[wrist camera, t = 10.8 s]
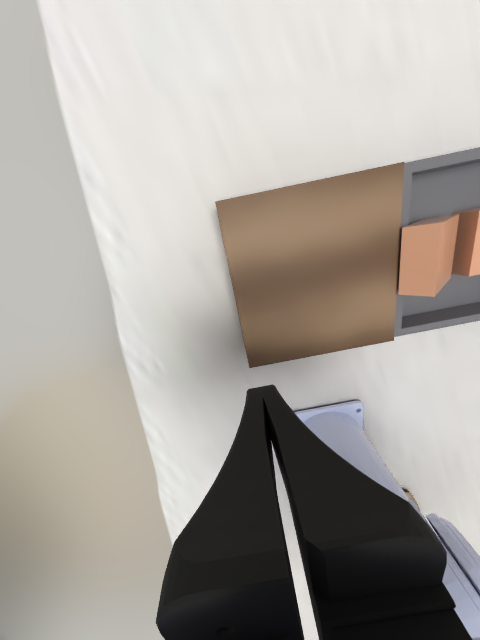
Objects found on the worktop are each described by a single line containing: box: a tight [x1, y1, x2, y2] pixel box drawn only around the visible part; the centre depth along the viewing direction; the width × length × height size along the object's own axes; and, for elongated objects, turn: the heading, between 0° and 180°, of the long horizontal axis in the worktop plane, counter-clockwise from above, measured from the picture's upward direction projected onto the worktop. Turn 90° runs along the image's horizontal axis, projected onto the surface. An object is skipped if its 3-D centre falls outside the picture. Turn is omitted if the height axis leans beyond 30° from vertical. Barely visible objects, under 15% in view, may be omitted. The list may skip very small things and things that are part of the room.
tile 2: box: [398, 214, 459, 297], centre depth 16 cm, size 4×4×2 cm
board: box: [215, 162, 404, 368], centre depth 17 cm, size 12×12×3 cm
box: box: [394, 147, 480, 337], centre depth 17 cm, size 12×11×2 cm
